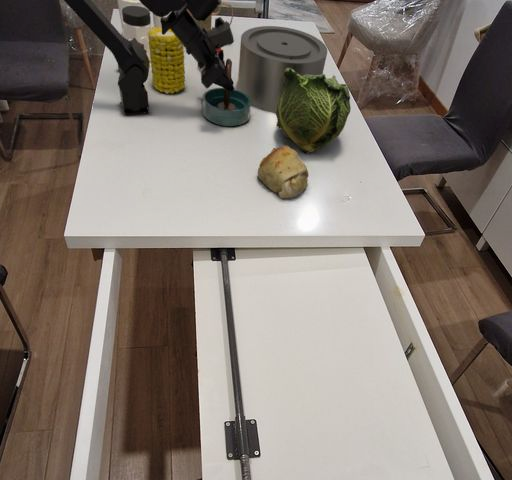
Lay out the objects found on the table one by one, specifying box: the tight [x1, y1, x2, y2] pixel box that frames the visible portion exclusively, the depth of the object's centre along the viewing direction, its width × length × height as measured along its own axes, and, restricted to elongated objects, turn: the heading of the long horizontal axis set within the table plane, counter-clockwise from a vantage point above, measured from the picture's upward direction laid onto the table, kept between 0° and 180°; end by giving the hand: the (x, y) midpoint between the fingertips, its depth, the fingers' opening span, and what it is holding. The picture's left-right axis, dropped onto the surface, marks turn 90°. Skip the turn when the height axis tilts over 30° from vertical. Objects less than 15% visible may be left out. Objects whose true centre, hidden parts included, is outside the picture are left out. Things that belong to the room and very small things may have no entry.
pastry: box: [257, 145, 309, 200], centre depth 101 cm, size 14×12×8 cm
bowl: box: [202, 87, 252, 127], centre depth 118 cm, size 13×13×4 cm
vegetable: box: [275, 68, 352, 155], centre depth 109 cm, size 20×19×20 cm
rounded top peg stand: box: [217, 58, 235, 110], centre depth 114 cm, size 5×5×14 cm
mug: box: [187, 1, 234, 31], centre depth 142 cm, size 12×18×12 cm, turn 89°
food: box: [148, 26, 186, 95], centre depth 120 cm, size 15×12×10 cm
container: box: [236, 25, 328, 114], centre depth 126 cm, size 25×25×13 cm
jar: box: [122, 6, 152, 62], centre depth 130 cm, size 9×8×12 cm
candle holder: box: [116, 0, 150, 38], centre depth 136 cm, size 10×10×12 cm
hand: (232, 87), depth 114 cm, fingers closed
